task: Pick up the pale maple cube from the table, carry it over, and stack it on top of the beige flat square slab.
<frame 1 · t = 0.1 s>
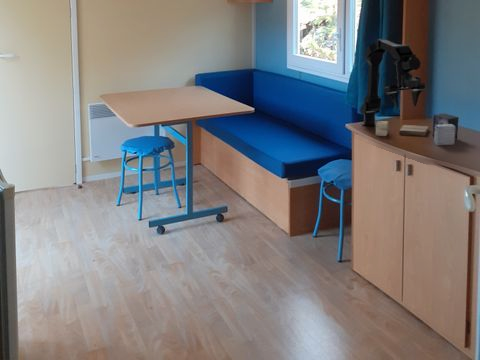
hand: (406, 107, 289), 15 cm above the cabinet, tool pointing down, fingers open, 9 cm apart
beige flat square slab: (413, 132, 306), on the cabinet
medicine box: (443, 144, 284), on the cabinet
maple cube: (381, 134, 305), on the cabinet
small box: (444, 138, 295), on the cabinet
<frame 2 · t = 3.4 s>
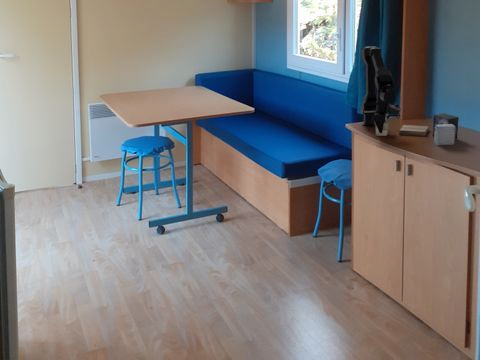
hand: (381, 131, 304), 1 cm above the cabinet, tool pointing down, fingers closed on maple cube, 5 cm apart
maple cube: (381, 134, 305), on the cabinet, touching gripper
everything else where it was.
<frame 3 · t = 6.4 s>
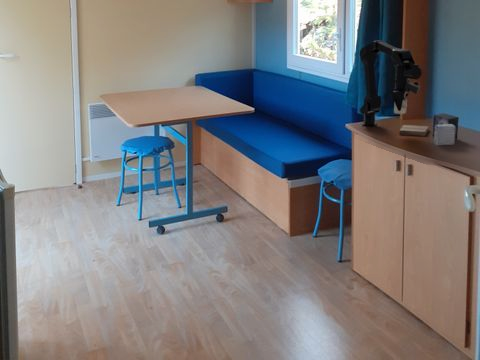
hand: (400, 109, 302), 12 cm above the cabinet, tool pointing down, fingers closed on maple cube, 5 cm apart
maple cube: (400, 112, 302), point 10 cm above the cabinet, touching gripper
everything else where it was.
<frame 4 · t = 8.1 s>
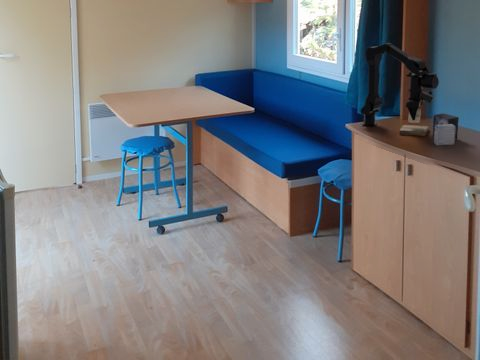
hand: (414, 118, 304), 7 cm above the cabinet, tool pointing down, fingers closed on maple cube, 5 cm apart
maple cube: (414, 121, 305), point 5 cm above the cabinet, touching gripper
everything else where it was.
when the fingers open (4 cm above the cabinet, at t = 9.4 s): maple cube drops 1 cm, resting on beige flat square slab.
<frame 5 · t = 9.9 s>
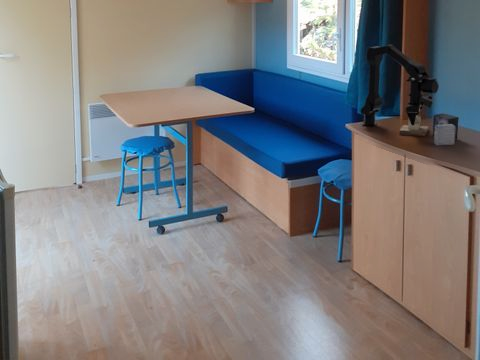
hand: (414, 123, 305), 4 cm above the cabinet, tool pointing down, fingers open, 9 cm apart
maple cube: (414, 128, 306), point 2 cm above the cabinet, touching beige flat square slab
everything else where it was.
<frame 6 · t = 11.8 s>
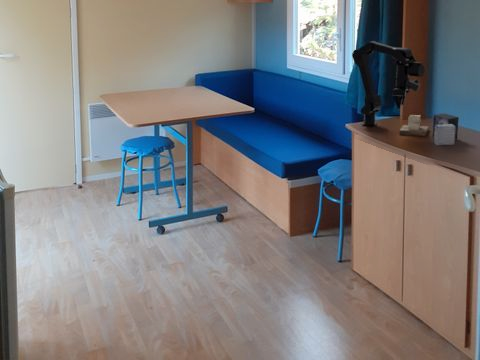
hand: (400, 106, 309), 12 cm above the cabinet, tool pointing down, fingers open, 9 cm apart
nothing on the cabinet moved.
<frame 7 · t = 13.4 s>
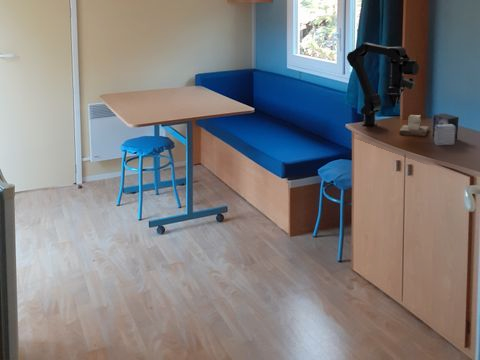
hand: (395, 105, 311), 12 cm above the cabinet, tool pointing down, fingers open, 9 cm apart
nothing on the cabinet moved.
at the end: maple cube inside the target area on the beige flat square slab (0.0 cm from its centre), point 2.0 cm above the beige flat square slab's base; maple cube tilted 0°; the gripper is holding nothing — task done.
